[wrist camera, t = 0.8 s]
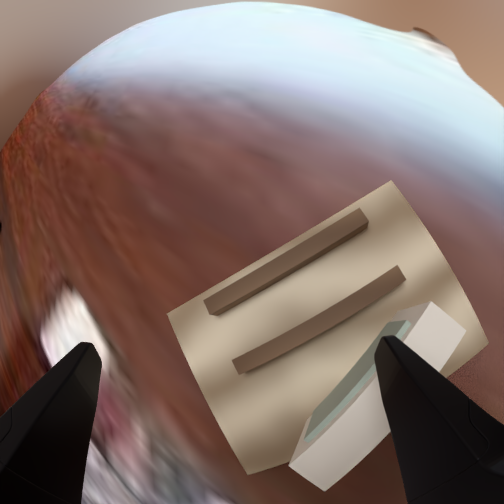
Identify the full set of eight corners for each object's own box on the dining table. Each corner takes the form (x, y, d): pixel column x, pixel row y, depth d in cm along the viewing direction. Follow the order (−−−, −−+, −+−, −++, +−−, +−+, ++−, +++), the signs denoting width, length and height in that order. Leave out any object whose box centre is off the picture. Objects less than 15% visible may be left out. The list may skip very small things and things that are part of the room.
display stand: (483, 342, 17) (497, 343, 14) (251, 470, 19) (241, 483, 17) (389, 185, 22) (393, 171, 20) (173, 314, 25) (157, 312, 22)
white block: (394, 308, 19) (426, 297, 11) (424, 332, 18) (470, 334, 10) (303, 417, 19) (283, 462, 11) (334, 440, 18) (329, 494, 10)
